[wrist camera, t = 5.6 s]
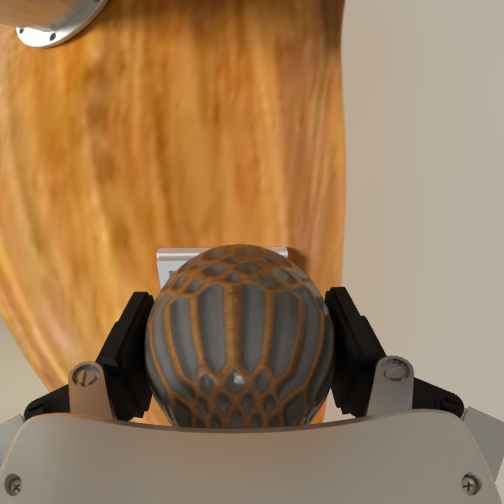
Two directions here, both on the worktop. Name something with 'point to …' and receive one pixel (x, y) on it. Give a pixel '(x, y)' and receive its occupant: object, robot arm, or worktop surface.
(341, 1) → the worktop surface
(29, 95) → the worktop surface
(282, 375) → the vase
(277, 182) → the worktop surface
